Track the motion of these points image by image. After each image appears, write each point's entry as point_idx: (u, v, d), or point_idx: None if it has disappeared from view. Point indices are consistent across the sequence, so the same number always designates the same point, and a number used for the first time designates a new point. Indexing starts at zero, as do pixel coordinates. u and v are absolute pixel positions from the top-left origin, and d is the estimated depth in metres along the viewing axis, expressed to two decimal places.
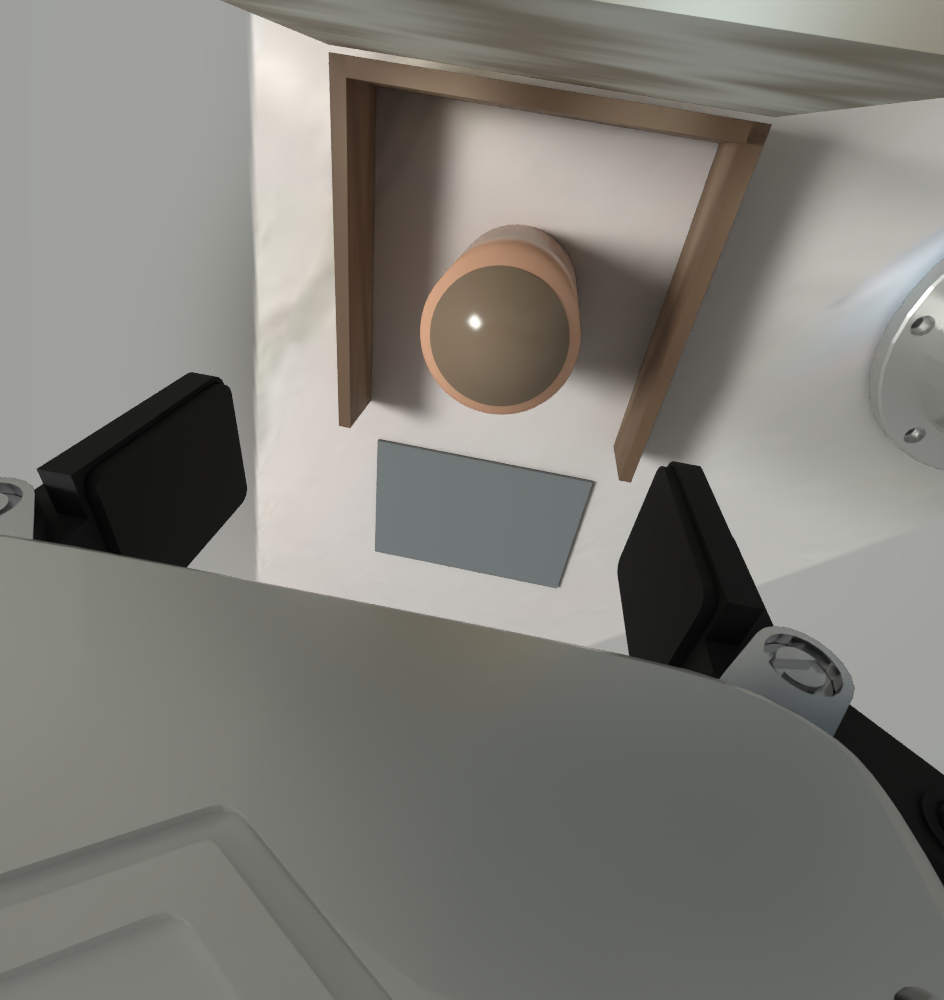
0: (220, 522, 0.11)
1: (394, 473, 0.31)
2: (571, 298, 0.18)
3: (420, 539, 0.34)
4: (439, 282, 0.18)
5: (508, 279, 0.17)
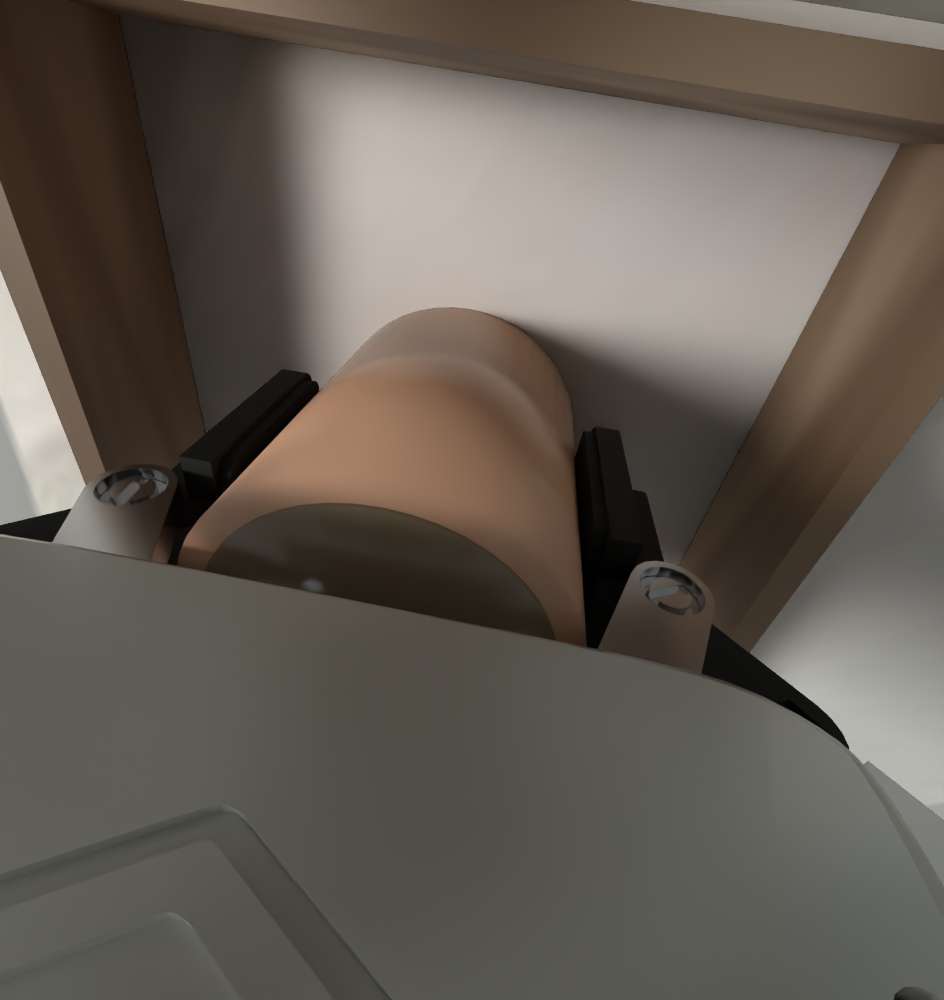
0: None
1: None
2: (561, 583, 0.06)
3: None
4: (196, 529, 0.06)
5: (380, 535, 0.06)
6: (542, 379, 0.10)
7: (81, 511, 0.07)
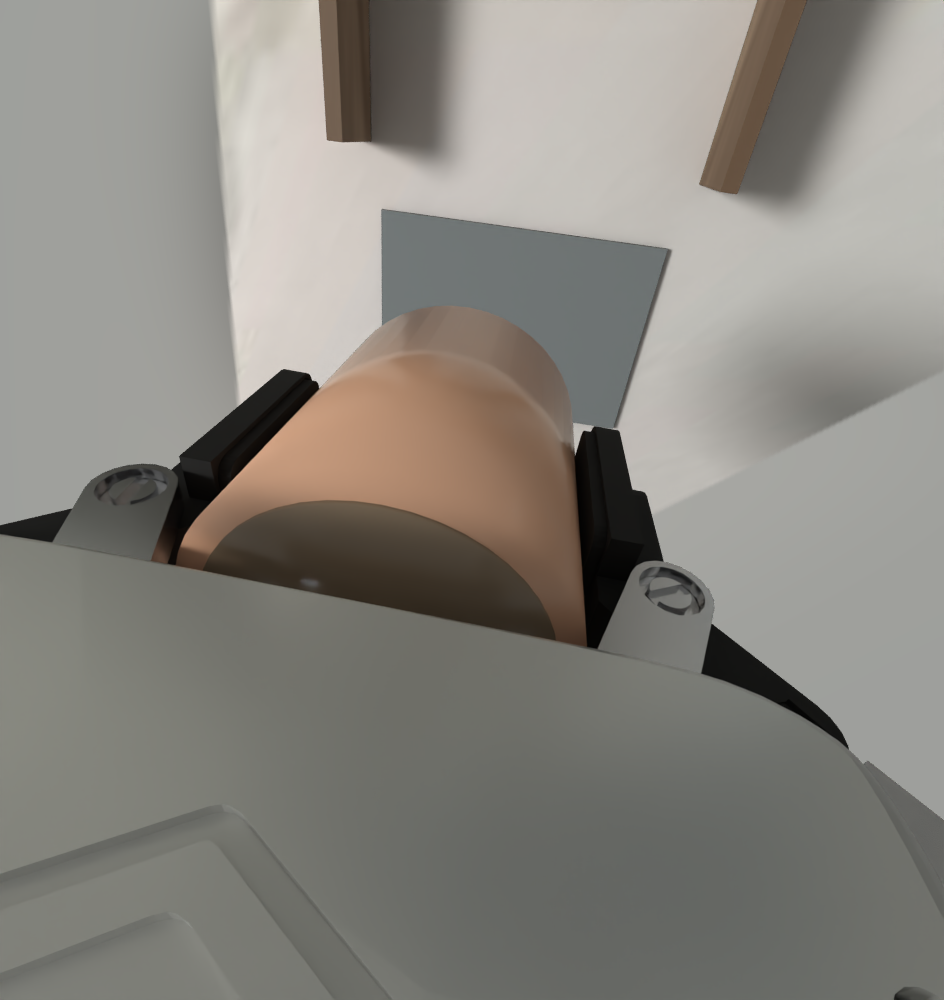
0: None
1: (404, 262, 0.24)
2: (561, 581, 0.06)
3: None
4: (195, 527, 0.06)
5: (380, 533, 0.06)
6: (542, 377, 0.10)
7: (81, 511, 0.07)
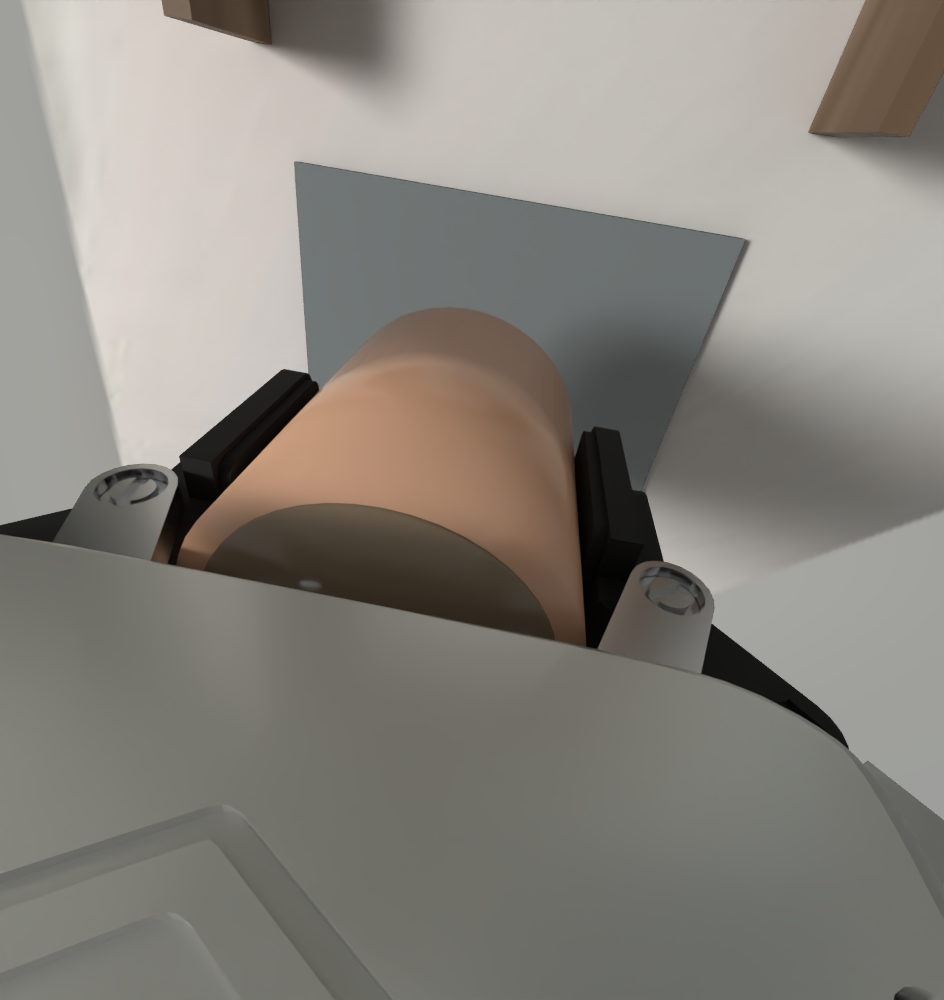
0: None
1: (334, 247, 0.16)
2: (560, 583, 0.06)
3: None
4: (195, 530, 0.06)
5: (379, 535, 0.06)
6: (542, 379, 0.10)
7: (81, 511, 0.07)
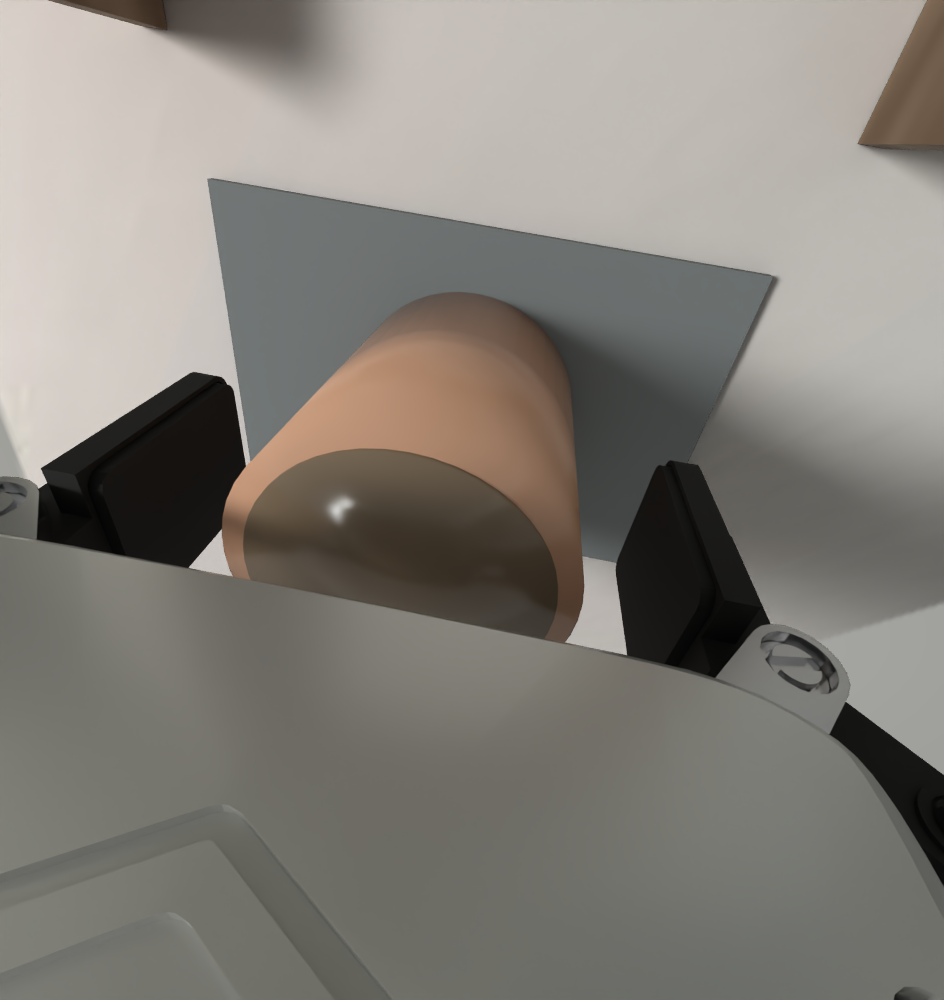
0: None
1: (264, 283, 0.13)
2: (561, 520, 0.07)
3: None
4: (244, 476, 0.07)
5: (405, 477, 0.07)
6: (544, 356, 0.11)
7: None
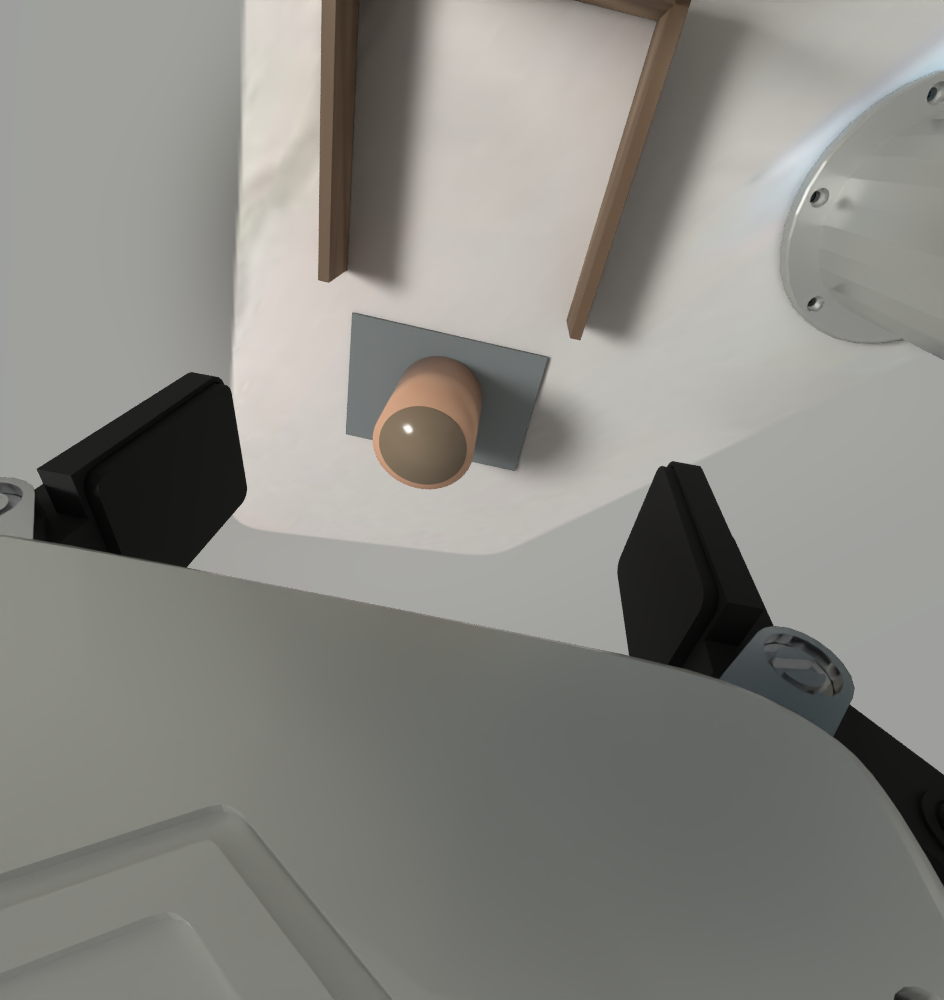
0: (220, 522, 0.11)
1: (366, 348, 0.34)
2: (466, 426, 0.29)
3: None
4: (385, 412, 0.28)
5: (427, 414, 0.28)
6: (469, 381, 0.32)
7: None
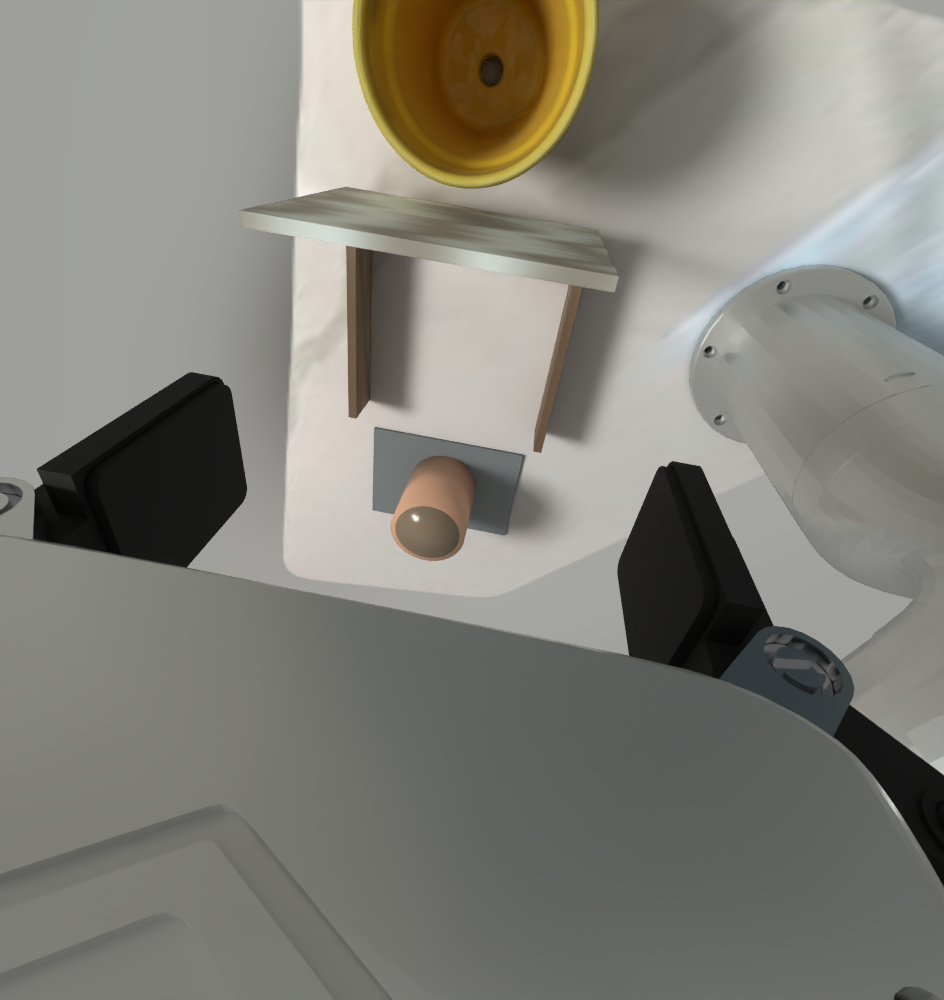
0: (220, 522, 0.11)
1: (386, 451, 0.44)
2: (458, 519, 0.39)
3: None
4: (398, 510, 0.39)
5: (429, 511, 0.39)
6: (463, 476, 0.43)
7: None
